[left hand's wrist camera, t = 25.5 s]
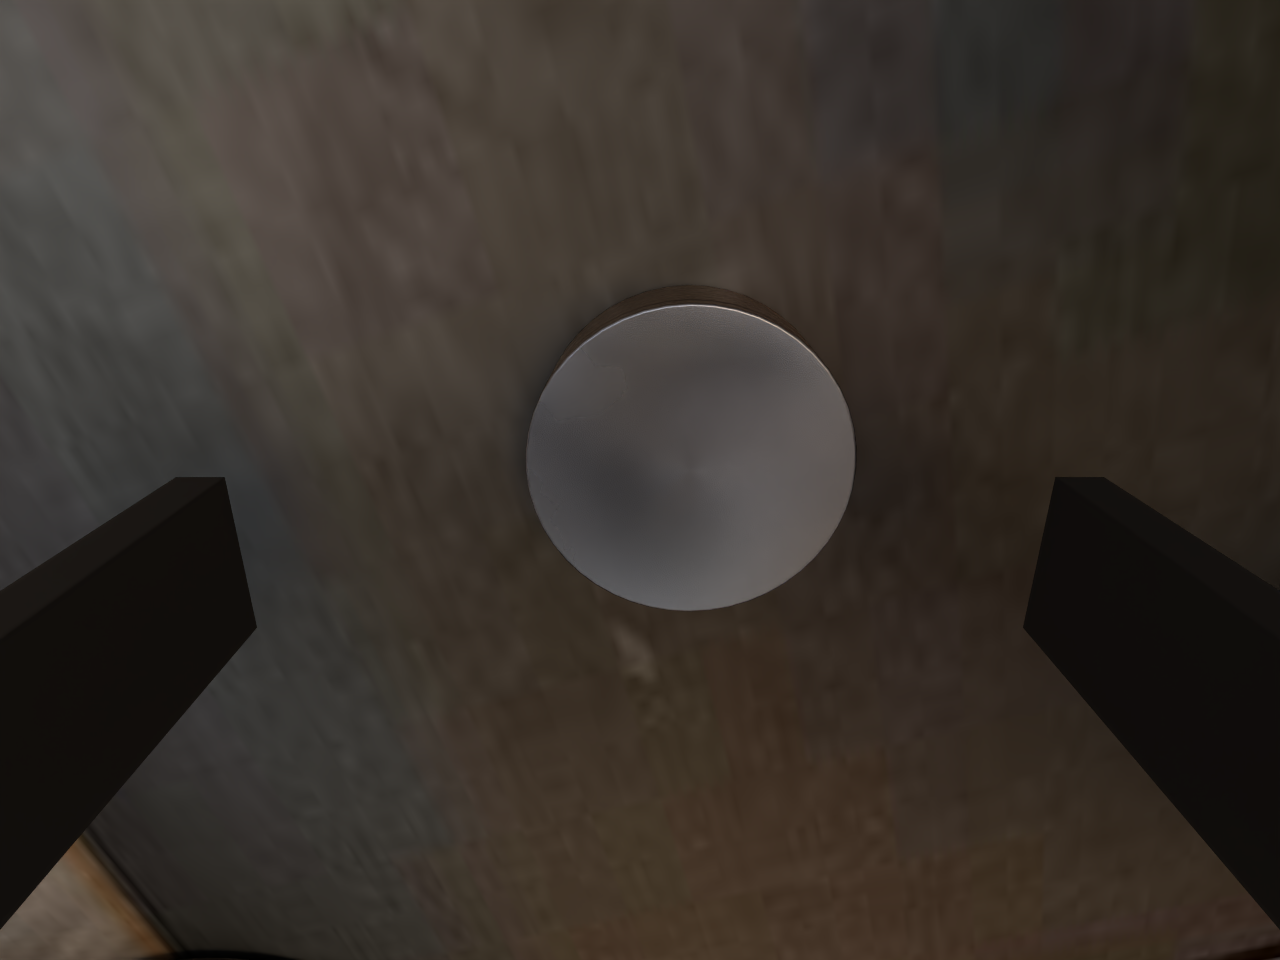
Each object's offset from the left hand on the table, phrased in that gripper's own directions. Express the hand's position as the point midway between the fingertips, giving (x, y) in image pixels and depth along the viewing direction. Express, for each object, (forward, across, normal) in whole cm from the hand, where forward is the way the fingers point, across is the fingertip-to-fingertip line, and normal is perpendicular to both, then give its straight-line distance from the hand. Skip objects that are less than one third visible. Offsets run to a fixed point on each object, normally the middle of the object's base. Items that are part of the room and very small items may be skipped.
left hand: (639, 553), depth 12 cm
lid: (+2, +1, +1) cm, 3 cm away
